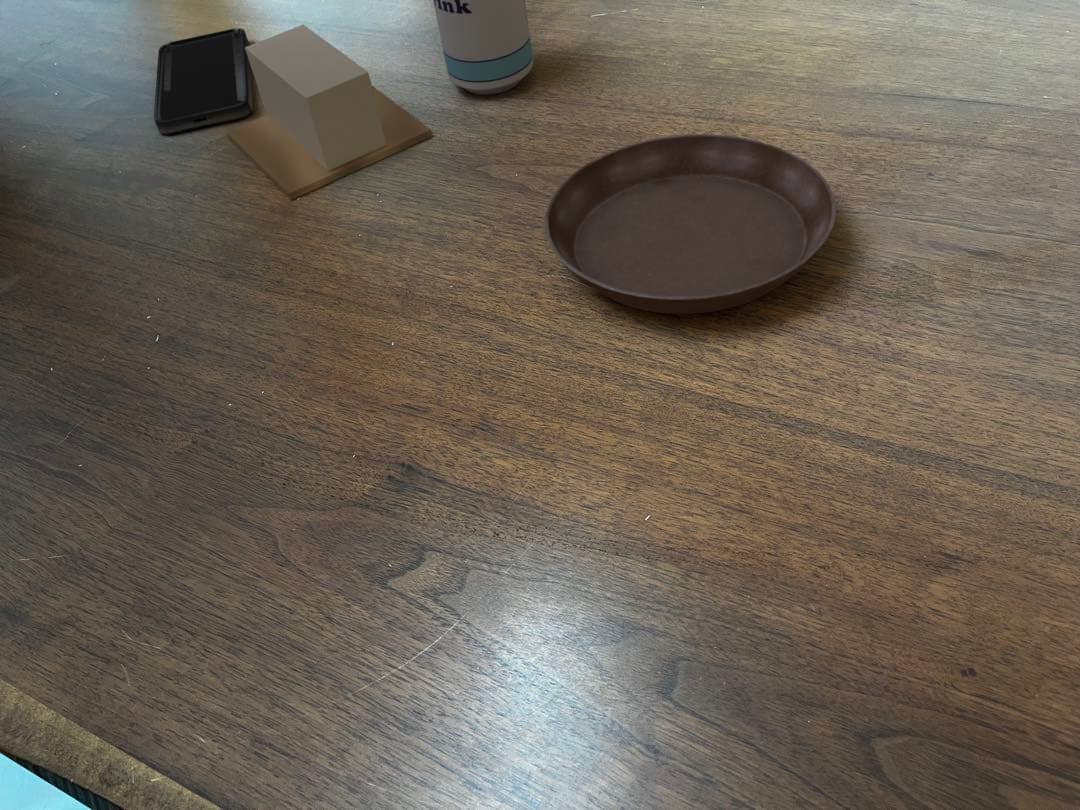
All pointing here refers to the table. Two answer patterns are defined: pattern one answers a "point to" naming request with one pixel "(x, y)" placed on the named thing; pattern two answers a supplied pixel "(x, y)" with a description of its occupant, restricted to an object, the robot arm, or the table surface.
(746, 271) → the plant saucer
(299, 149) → the pad
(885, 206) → the table surface
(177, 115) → the phone
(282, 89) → the clock
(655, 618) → the table surface
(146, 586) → the table surface
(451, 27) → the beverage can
